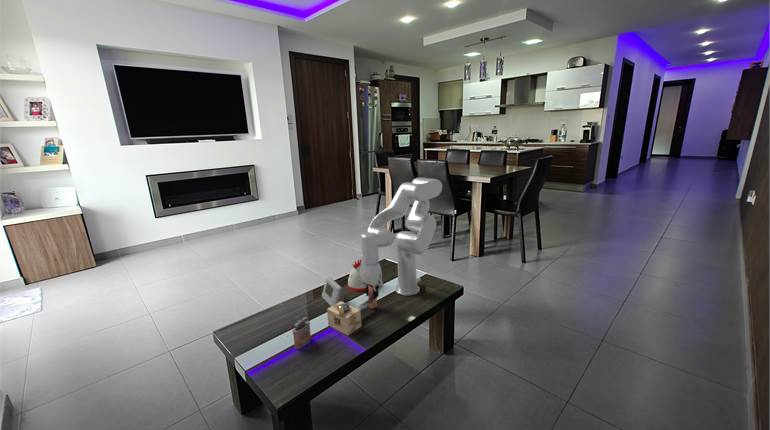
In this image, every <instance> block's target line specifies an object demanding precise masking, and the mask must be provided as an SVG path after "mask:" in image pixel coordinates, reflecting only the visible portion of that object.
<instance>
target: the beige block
mask: <svg viewBox="0 0 770 430" xmlns="http://www.w3.org/2000/svg"><path fill="white" fill-rule="evenodd" d="M340 304H347V303H346V302H345V301H344V302H341V301H340V302H339V303H337V304H335V305H333V306H329V307H328V308H327V309H326V314H327V325H328V326H329V327H330V328H333V329H334V330H336V331H339V332H340V333H342V334H343V335H346V336H349V335H351V334H353V333H355V332H356V331H357V330H358V329H359V328H361V327H362V316H361V315H362V313H361V311H362V310H361V311H360V309H358V308H356V306H353V305H350V304H348V305H349V310H348V311H345V312H344V316H343V317H340V316H339V311H338V308H337V307H338V305H340Z"/></svg>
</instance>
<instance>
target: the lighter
mask: <svg viewBox="0 0 770 430" xmlns="http://www.w3.org/2000/svg"><path fill="white" fill-rule="evenodd" d="M292 335H293V342H294V343H293V344H294V349H295V350H300V349H301V348H303V347H304V346H306V345H307V344H309V343H310V342H311V341H312V338H313V337H312V335H311V321H309V320H308V317H307V316H304V317H303V318H302V319H299V320H297V321H296V323H295V324H294V328H293V329H292Z"/></svg>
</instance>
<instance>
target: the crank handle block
mask: <svg viewBox="0 0 770 430" xmlns="http://www.w3.org/2000/svg"><path fill="white" fill-rule="evenodd" d="M349 305H350V304H349V303H346V304H340V305H338V307H337V308H338V311H339V316H340V317H343V316H344V312H345V311H348V310H349Z"/></svg>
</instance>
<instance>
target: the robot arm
mask: <svg viewBox="0 0 770 430" xmlns="http://www.w3.org/2000/svg"><path fill="white" fill-rule="evenodd" d="M442 191H443V184H442V182H441V181H440V179H437V178H428V177H427V178H426V177H416V178H413V179H412V181H411V182H402V183H401V184H400V185H399V187H398V189H397V190H396V192H395V195H394V196H393V198H392V199H391V201H390V202H389V205H388V206H387V207H386V208H384V209H383V210H381V211H380V212H379V213H378V214H377V215H375V217H374V218H373V219H372V220H371V222H370V224H369V226H368V228H367V229H366V232H363V233H362V234H361V235H360V244H361V245H360V247H361V255H360V258H361V266H360V280H361V281H362V282H363V284H364V285H365V288H366V291H365V296H366V297H369V295H368V284H369V285H372V286H373V288H374V291H373V298H374V299H375V298H377V299H378V297H379V290H380V289H382V288H384V287H385V285H384V282H383V273H382V267H381V263H380V259H379V258H380V257H379V256H380V255H379V254H380V253H379V249H380V248H385V247H389V246H392V244H393V243H394V245H395V249H396V255H397V285H396V286H395V292H396V293H397V295H398V294H399V295H401V296H405V297H407V296H409V297H410V296H414V295H417V294H418V293H420V286H419V285H418V283H419V282H421V281H422V279H421V278H420V277H417V255H418V256H422V255H424V254H425V253H427V251H428V249H429V247H430V244H431V242H432V239H433V237H434V235H435V232H436V229H437V219H436V218H435V217H434V216H433V215H431V214H428V212H429V210H430V199H433V198H436V197H438V196H439V195H440V194H441V192H442ZM411 203H412V206H411V209H410V211H409V213H408V215H407V218H406V221H405V227H406V228H407V229H408V230H409V231H407V230H405V231H404V230H403V231H400V232H398V233H397V234H396V235H395V234H394V233H393V231H390V230H388V229H385V228H383V227H384V226H385V225H386V224H387V223H389V222H391V221H394V220H396V219H400V218H402V217H404V216H405V215H406V213H407V210H408V209H409V207H410V205H411ZM410 231H412V232H410ZM417 233H418V234H417Z"/></svg>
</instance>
